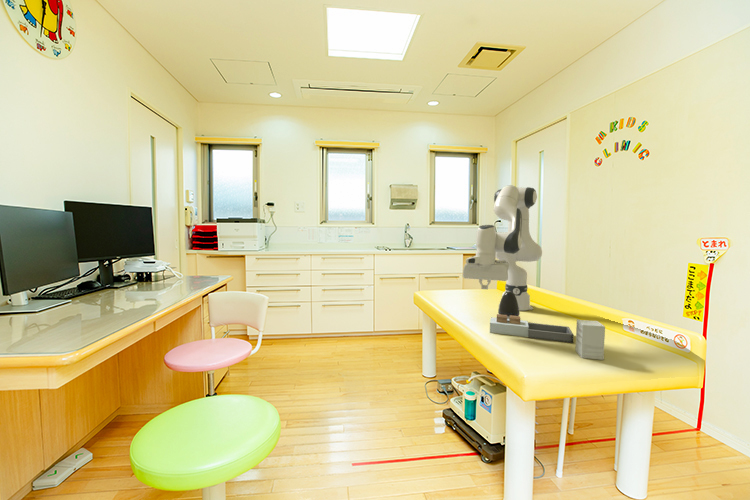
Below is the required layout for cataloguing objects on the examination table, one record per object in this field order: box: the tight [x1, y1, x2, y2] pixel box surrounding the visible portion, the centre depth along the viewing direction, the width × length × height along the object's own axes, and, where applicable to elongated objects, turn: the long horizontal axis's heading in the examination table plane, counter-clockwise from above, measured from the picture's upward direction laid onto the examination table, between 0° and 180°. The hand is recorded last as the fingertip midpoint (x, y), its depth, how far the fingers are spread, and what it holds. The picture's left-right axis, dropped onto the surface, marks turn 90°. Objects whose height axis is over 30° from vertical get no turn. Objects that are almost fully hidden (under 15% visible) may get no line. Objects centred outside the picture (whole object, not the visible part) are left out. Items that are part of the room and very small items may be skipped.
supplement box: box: [575, 319, 606, 361], centre depth 123 cm, size 7×7×13 cm
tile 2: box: [509, 315, 521, 324], centre depth 150 cm, size 4×4×2 cm
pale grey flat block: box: [489, 316, 529, 338], centre depth 151 cm, size 10×16×4 cm, turn 68°
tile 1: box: [496, 313, 507, 323], centre depth 152 cm, size 4×4×2 cm
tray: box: [527, 322, 574, 344], centre depth 145 cm, size 12×17×4 cm
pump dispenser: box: [497, 290, 520, 319], centre depth 168 cm, size 10×10×15 cm
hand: (484, 289), depth 154 cm, fingers closed
